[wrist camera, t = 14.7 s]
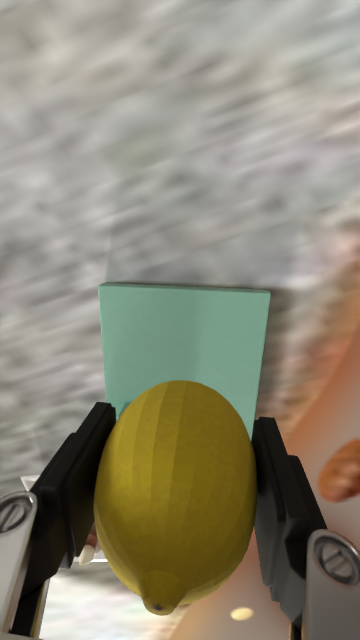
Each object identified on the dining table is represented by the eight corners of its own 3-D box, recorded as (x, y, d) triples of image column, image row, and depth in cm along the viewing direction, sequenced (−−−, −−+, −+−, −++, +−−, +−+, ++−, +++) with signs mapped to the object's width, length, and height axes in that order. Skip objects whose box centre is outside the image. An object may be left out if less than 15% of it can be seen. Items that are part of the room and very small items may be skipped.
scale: (96, 282, 20) (77, 289, 17) (267, 289, 18) (278, 299, 16) (108, 447, 24) (95, 475, 22) (245, 462, 23) (250, 494, 20)
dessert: (27, 467, 26) (-11, 515, 22) (140, 457, 24) (125, 508, 20) (65, 550, 30) (39, 607, 25) (168, 548, 28) (160, 609, 23)
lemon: (220, 335, 12) (237, 495, 5) (256, 430, 14) (316, 676, 6) (117, 369, 13) (-5, 542, 6) (160, 454, 15) (105, 685, 7)
